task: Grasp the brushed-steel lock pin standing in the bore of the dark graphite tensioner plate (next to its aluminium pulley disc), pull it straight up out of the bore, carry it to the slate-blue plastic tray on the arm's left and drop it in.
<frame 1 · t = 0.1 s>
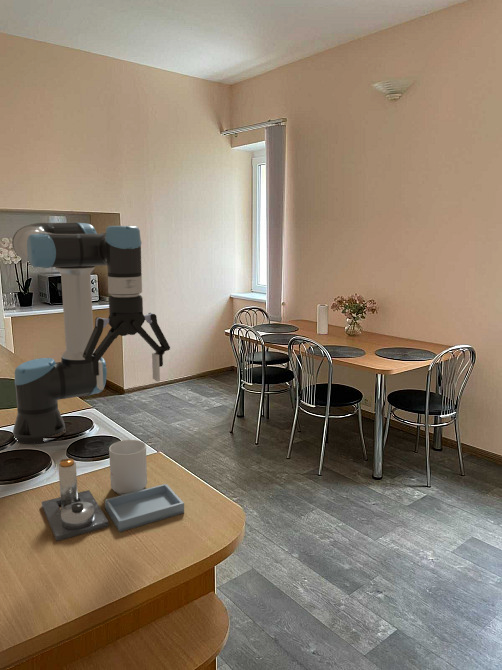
hand: (129, 384, 125), 28 cm above the worktop, fingers open, 13 cm apart
mug: (128, 485, 135), on the worktop
tensioner: (74, 516, 120), on the worktop
lock pin: (70, 508, 124), resting in tensioner
tray: (144, 511, 123), on the worktop
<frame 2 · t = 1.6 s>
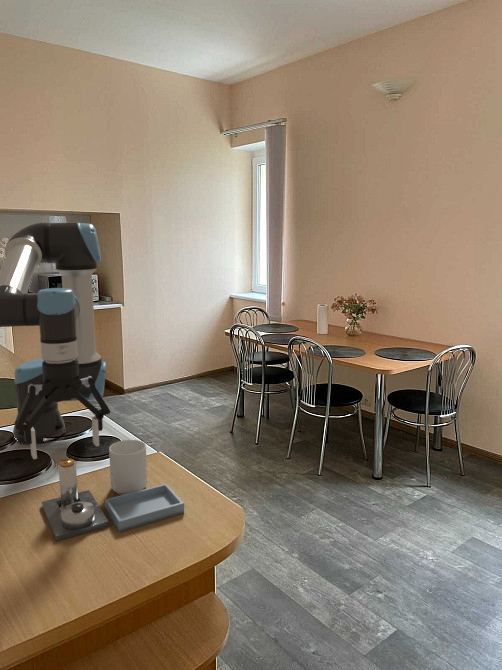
hand: (66, 450, 120), 15 cm above the worktop, fingers open, 13 cm apart
nothing on the worktop moved.
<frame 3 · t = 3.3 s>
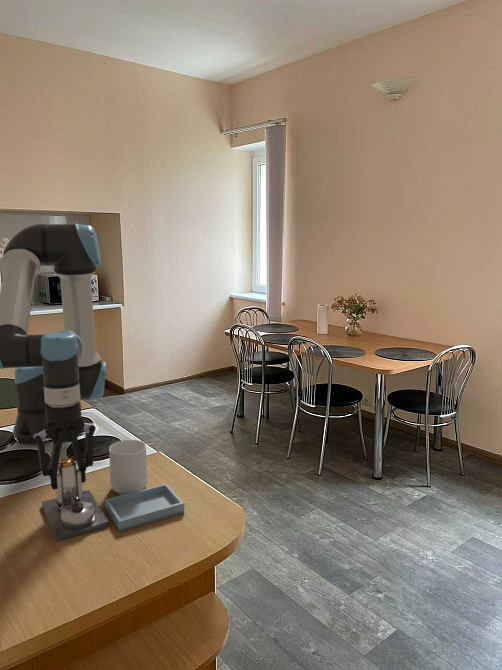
hand: (69, 497, 123), 3 cm above the worktop, fingers closed on lock pin, 4 cm apart
lock pin: (70, 507, 124), resting in tensioner, touching gripper
everything else where it was.
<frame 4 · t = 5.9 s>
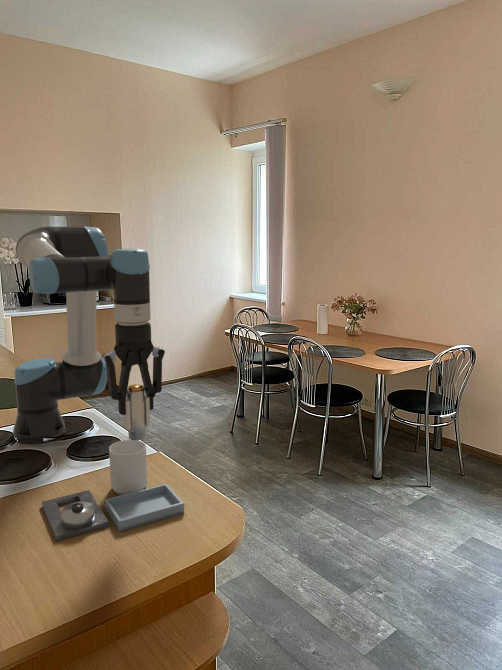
hand: (136, 425, 118), 21 cm above the worktop, fingers closed on lock pin, 4 cm apart
lock pin: (137, 436, 118), point 18 cm above the worktop, touching gripper
everything else where it was.
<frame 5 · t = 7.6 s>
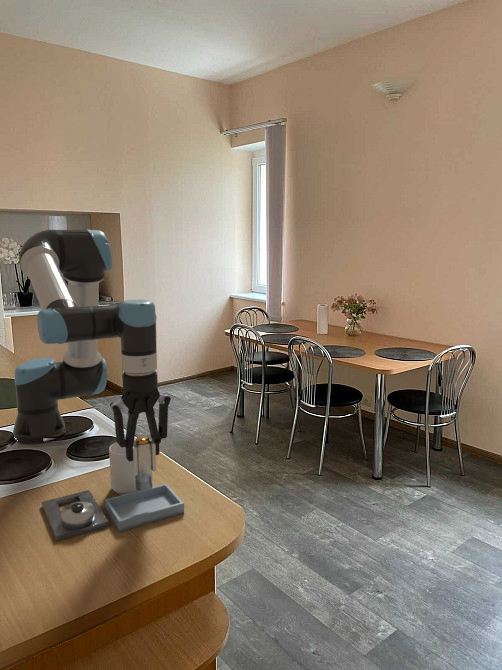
hand: (143, 470, 120), 10 cm above the worktop, fingers closed on lock pin, 4 cm apart
lock pin: (144, 487, 121), point 6 cm above the worktop, touching gripper
everything else where it was.
when the fingers open (5 cm above the worktop, at t = 8.7 s): lock pin stays where it is, resting on tray.
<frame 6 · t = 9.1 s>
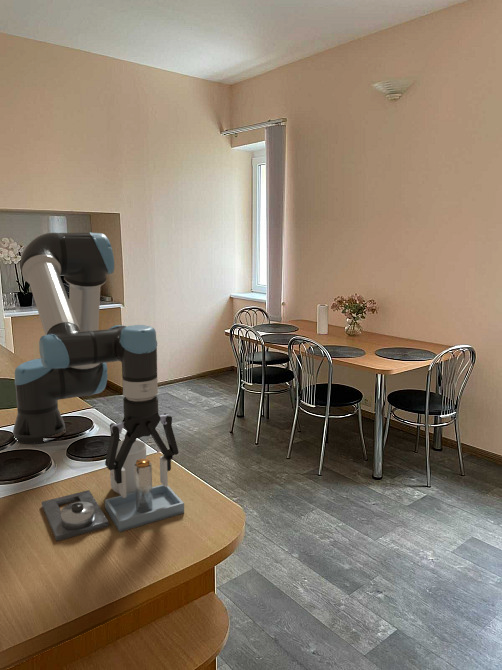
hand: (143, 489, 121), 6 cm above the worktop, fingers open, 9 cm apart
lock pin: (144, 508, 123), point 1 cm above the worktop, touching tray
everything else where it was.
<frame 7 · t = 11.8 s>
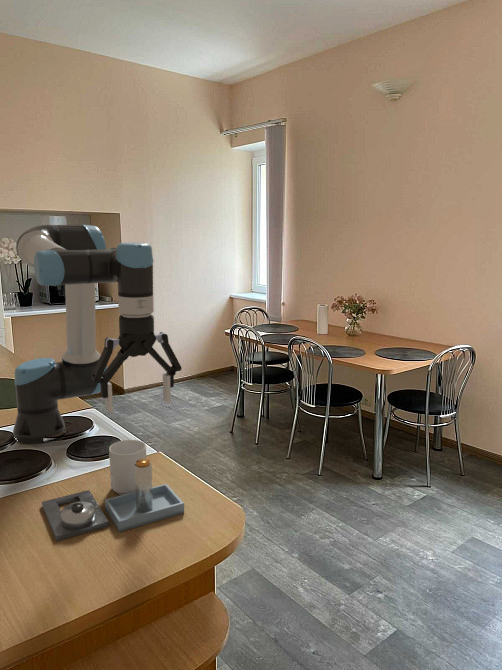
hand: (138, 405, 121), 24 cm above the worktop, fingers open, 13 cm apart
nothing on the worktop moved.
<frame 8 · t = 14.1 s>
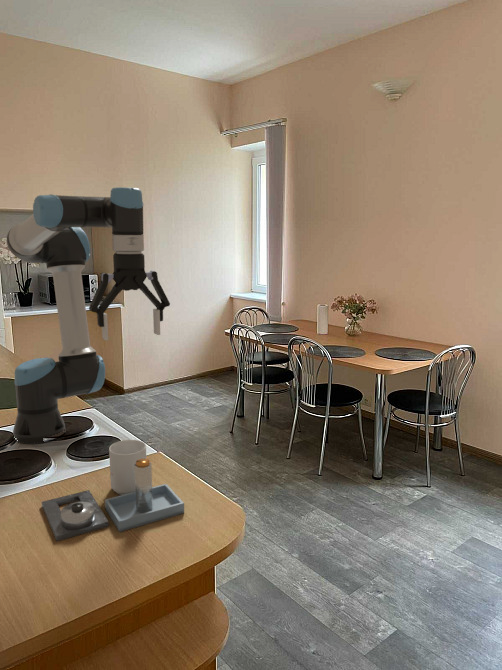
hand: (131, 336, 135), 37 cm above the worktop, fingers open, 13 cm apart
nothing on the worktop moved.
at the end: lock pin inside the target area on the tray (0.0 cm from its centre), point 0.6 cm above the tray's base; the gripper is holding nothing; lock pin moved 17.6 cm from its start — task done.
